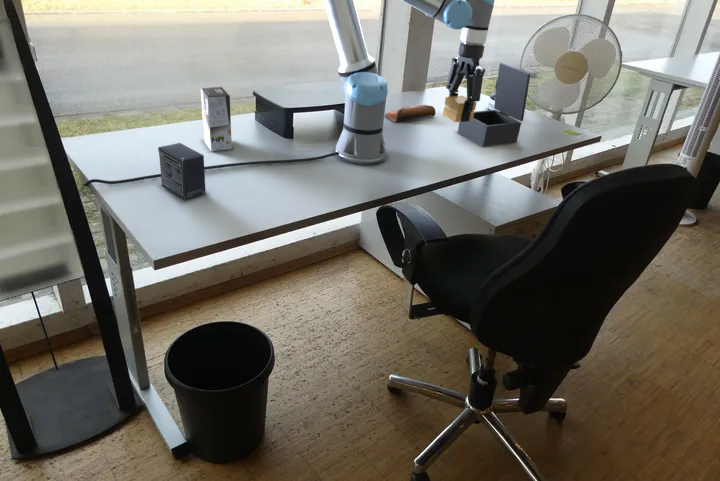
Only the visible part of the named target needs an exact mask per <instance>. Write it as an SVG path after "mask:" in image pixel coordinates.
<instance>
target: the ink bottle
mask: <svg viewBox="0 0 720 481" xmlns="http://www.w3.org/2000/svg"><path fill="white" fill-rule="evenodd" d="M497 81H498V78H497V79H496V81H495V86H494V91H492V92H491V93H490V95H489V99H488V100H489V101H488V105H487V110H496V109H494V105H495V97H496V89H497ZM496 111H498V110H496ZM498 112H500V111H498ZM500 113H502V112H500ZM502 114H504V113H502ZM504 115H506V116H508V115H507V114H504Z"/></svg>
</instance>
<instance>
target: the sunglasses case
mask: <svg viewBox="0 0 720 481" xmlns="http://www.w3.org/2000/svg"><path fill="white" fill-rule="evenodd" d="M427 116H428V117H430V116H431V117H435V116H436V109H435V107H434V106H433V105H429V104H418V105H412V106H411V105H410V106H406V107H405V106H403V107H401V108H399V109H394V110H391V111H388V112H386V113H384V117H387V119H389V120H390V121H392V122H394V123H396V122H399V121H404V120H408V119H412V118H420V117H427Z"/></svg>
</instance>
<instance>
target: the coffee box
mask: <svg viewBox="0 0 720 481" xmlns="http://www.w3.org/2000/svg"><path fill="white" fill-rule="evenodd" d="M200 96H201V98H200V99H201V110H202V125H203V126H202V127H203V141H204V143H205V144H206V146H207V147H208V149H209V150H210V151H211V152H217V151H229V150H232V146H233V144H232V121H231V120H232V119H231V114H232V113H231V96H230V94H229V93H228V92H227V91H226V90H225V89H224V88H223V87H222V86H211V87H209V86H208V87H201V88H200Z"/></svg>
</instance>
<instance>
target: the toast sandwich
mask: <svg viewBox="0 0 720 481" xmlns="http://www.w3.org/2000/svg"><path fill="white" fill-rule="evenodd" d="M465 100H467V96H465V95H458V96H450V97H449V96H445V99H444V107H443V111H442V116H443V117H445V118H447V119H449V120H451V121H452V122H454V123H459V122H462V121H461V117H462V112H463V108H464V103H465ZM477 102H478V101H475V102H474V105H473V109H472V112H471V114H470V119H469V121H473V117H474V112H475V110H476V107H477Z"/></svg>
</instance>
